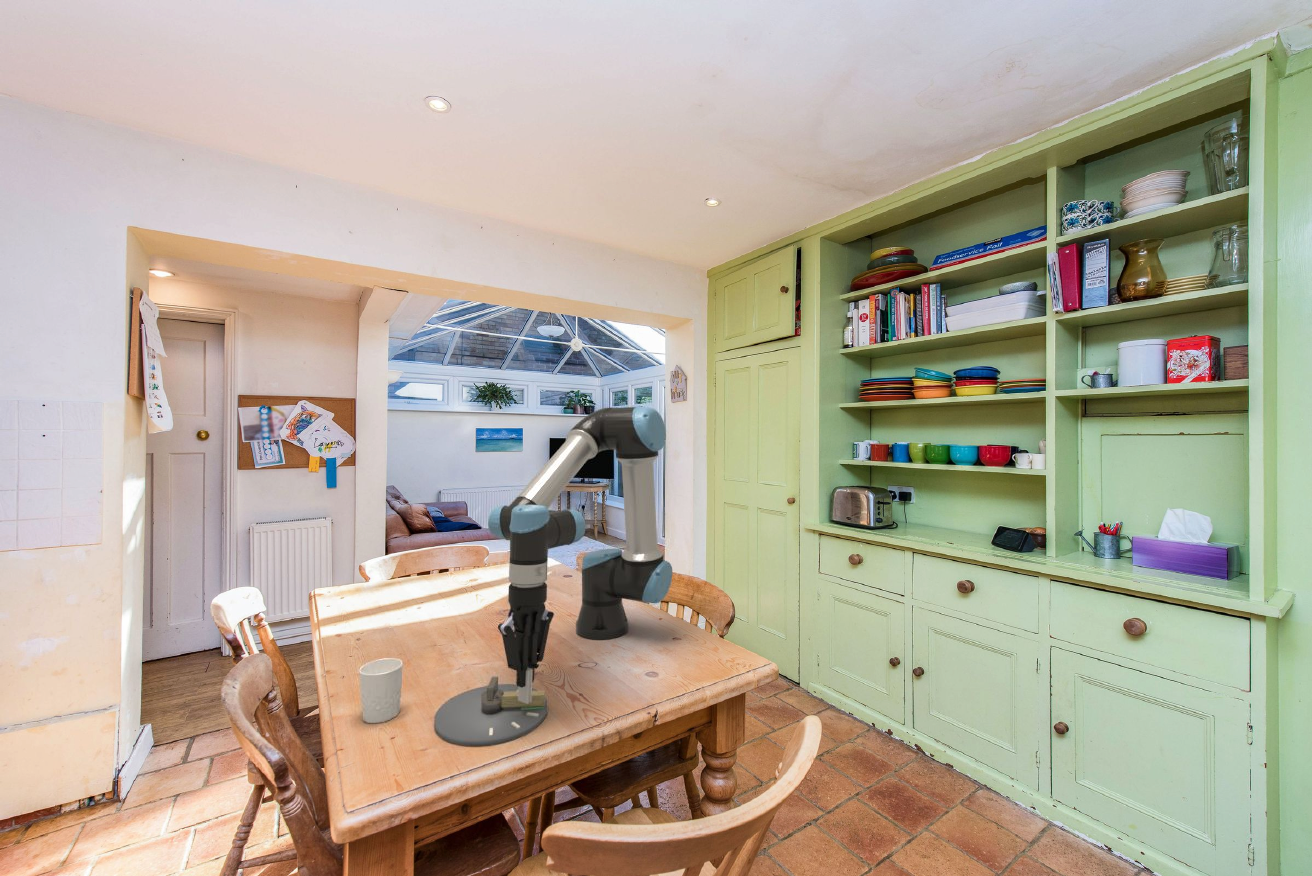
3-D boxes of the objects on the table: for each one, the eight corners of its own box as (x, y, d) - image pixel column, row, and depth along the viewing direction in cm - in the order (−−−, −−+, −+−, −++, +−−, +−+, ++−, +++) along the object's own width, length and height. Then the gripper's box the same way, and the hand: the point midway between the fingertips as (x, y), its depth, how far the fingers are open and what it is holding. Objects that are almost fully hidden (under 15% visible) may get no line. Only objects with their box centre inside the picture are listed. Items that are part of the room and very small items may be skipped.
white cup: (369, 705, 114) (369, 658, 114) (408, 704, 115) (408, 657, 114) (352, 726, 106) (351, 675, 106) (393, 724, 107) (393, 674, 107)
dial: (416, 714, 110) (416, 707, 110) (512, 680, 126) (512, 673, 126) (465, 761, 95) (465, 753, 95) (568, 715, 110) (568, 708, 110)
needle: (478, 714, 108) (478, 688, 108) (484, 702, 113) (484, 677, 113) (543, 712, 109) (543, 686, 109) (546, 699, 114) (546, 675, 114)
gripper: (515, 592, 102) (512, 719, 101) (564, 579, 112) (560, 694, 112) (490, 585, 106) (486, 707, 106) (538, 574, 116) (535, 685, 116)
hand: (524, 700), depth 109 cm, fingers closed
